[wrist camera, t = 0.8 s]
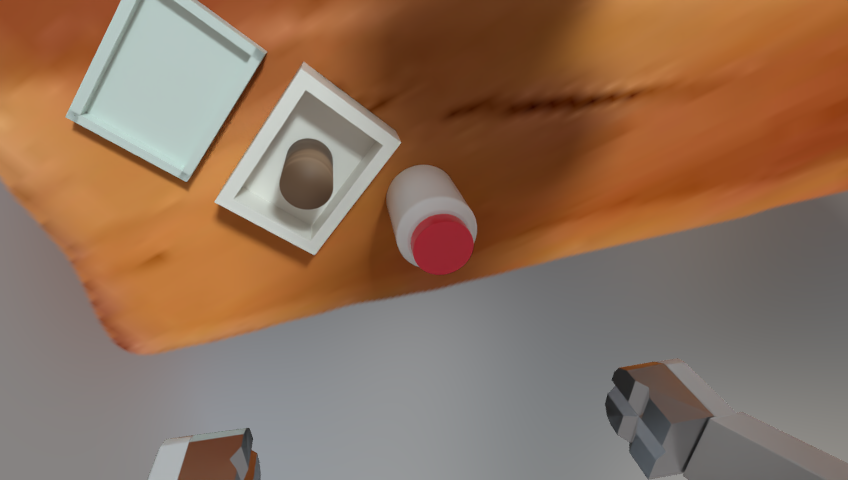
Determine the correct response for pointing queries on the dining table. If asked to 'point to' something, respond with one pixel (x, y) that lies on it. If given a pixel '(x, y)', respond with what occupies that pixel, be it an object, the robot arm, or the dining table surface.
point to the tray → (165, 81)
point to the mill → (307, 174)
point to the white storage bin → (317, 119)
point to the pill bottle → (431, 220)
